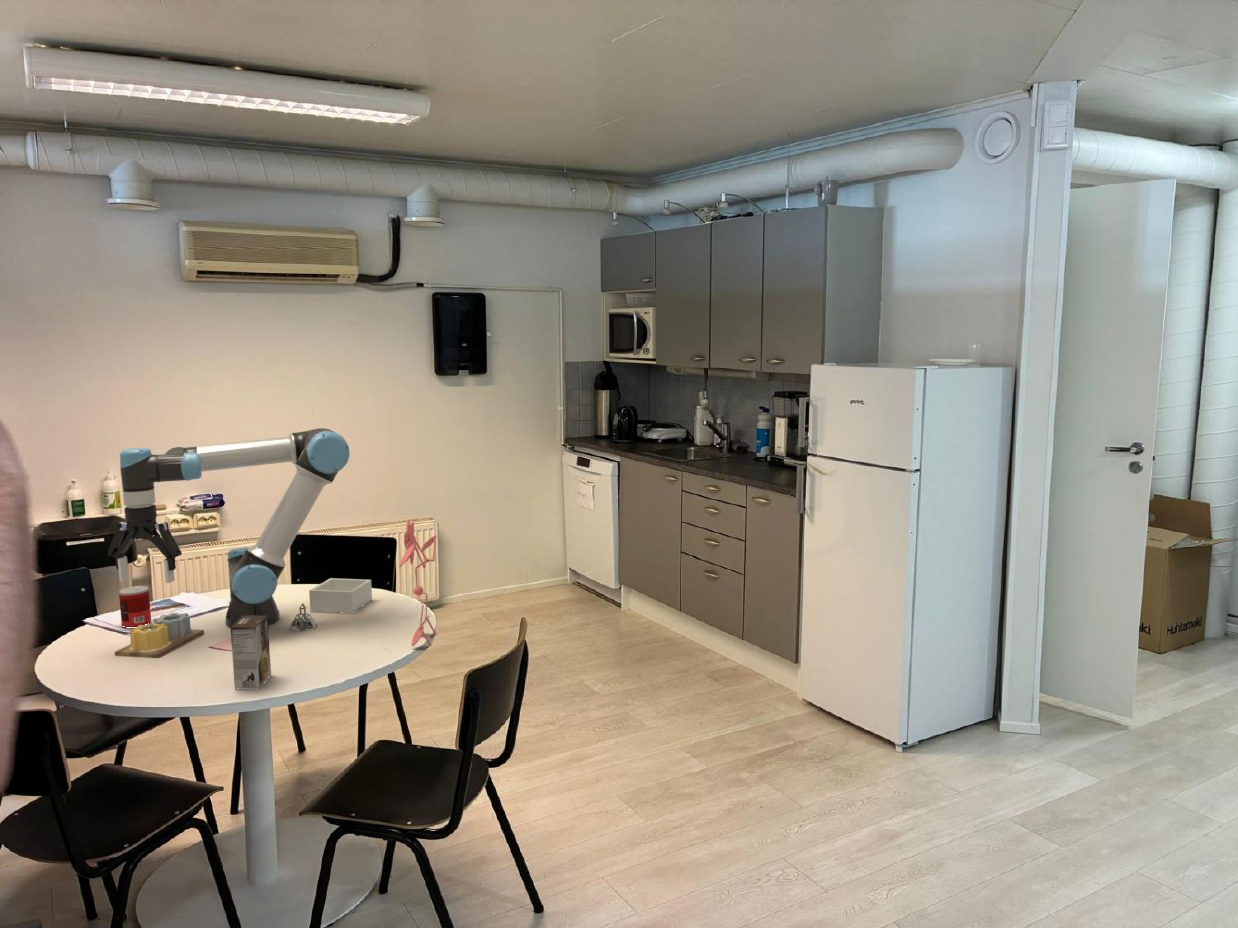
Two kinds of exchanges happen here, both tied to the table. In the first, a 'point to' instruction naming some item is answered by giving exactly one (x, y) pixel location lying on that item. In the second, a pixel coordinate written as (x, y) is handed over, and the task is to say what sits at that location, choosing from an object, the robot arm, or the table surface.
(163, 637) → the ochre gear
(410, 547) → the figurine
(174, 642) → the gear board
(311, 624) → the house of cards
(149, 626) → the peg
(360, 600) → the box
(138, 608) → the canned food
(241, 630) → the coffee box
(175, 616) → the gear
